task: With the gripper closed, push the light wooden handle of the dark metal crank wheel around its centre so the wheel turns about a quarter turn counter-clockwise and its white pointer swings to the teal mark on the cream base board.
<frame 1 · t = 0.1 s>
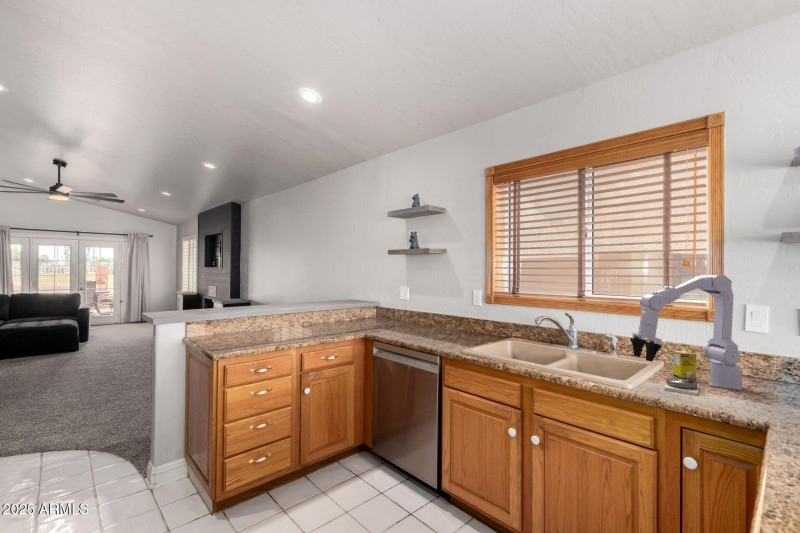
hand: (642, 358, 148), 11 cm above the counter, tool pointing down, fingers open, 7 cm apart
crank wheel: (682, 378, 144), point 4 cm above the counter, hinge at 0.0°
base board: (681, 388, 144), on the counter
supplement box: (684, 378, 159), on the counter
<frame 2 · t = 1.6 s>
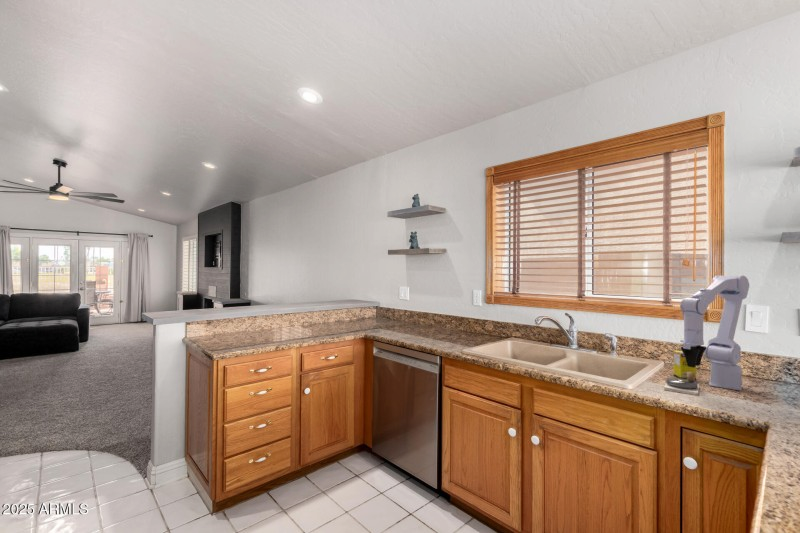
hand: (693, 366, 141), 9 cm above the counter, tool pointing down, fingers open, 4 cm apart
nothing on the counter moved.
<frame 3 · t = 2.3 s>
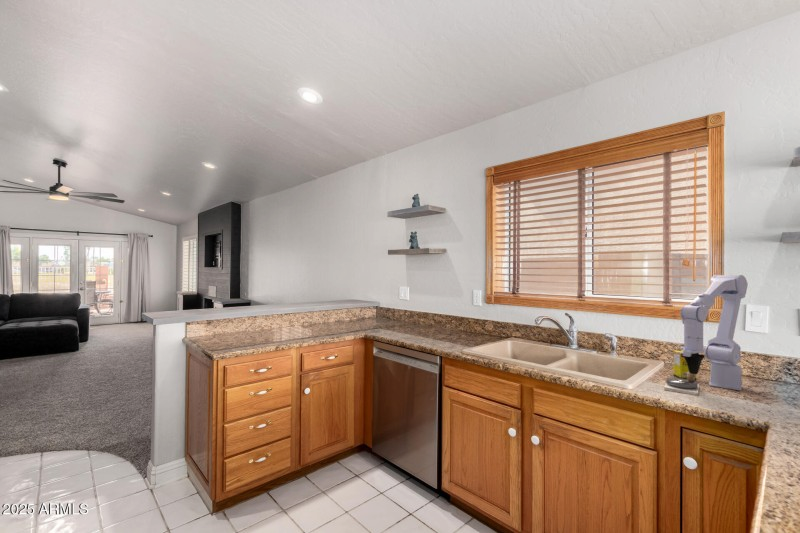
hand: (693, 373, 141), 7 cm above the counter, tool pointing down, fingers closed
nothing on the counter moved.
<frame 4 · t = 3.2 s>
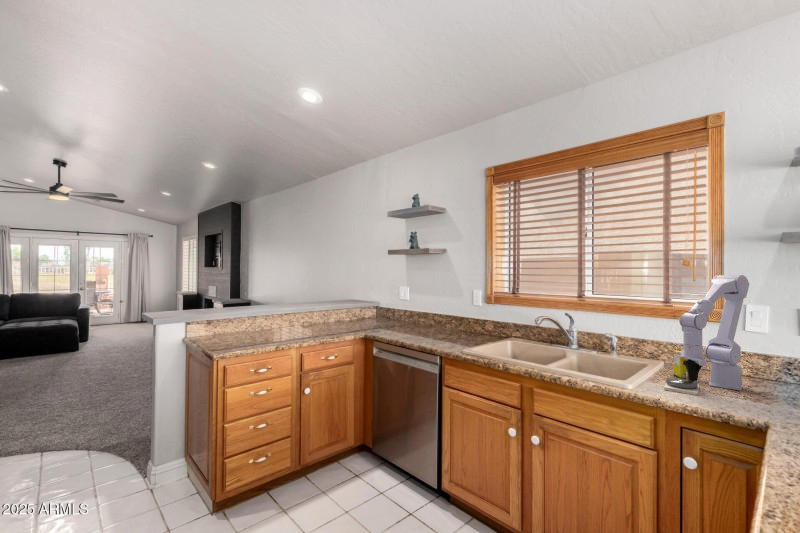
hand: (692, 380, 143), 3 cm above the counter, tool pointing down, fingers closed, pressing on crank wheel
crank wheel: (681, 378, 144), point 4 cm above the counter, hinge at 4.8°, touching gripper
everything else where it was.
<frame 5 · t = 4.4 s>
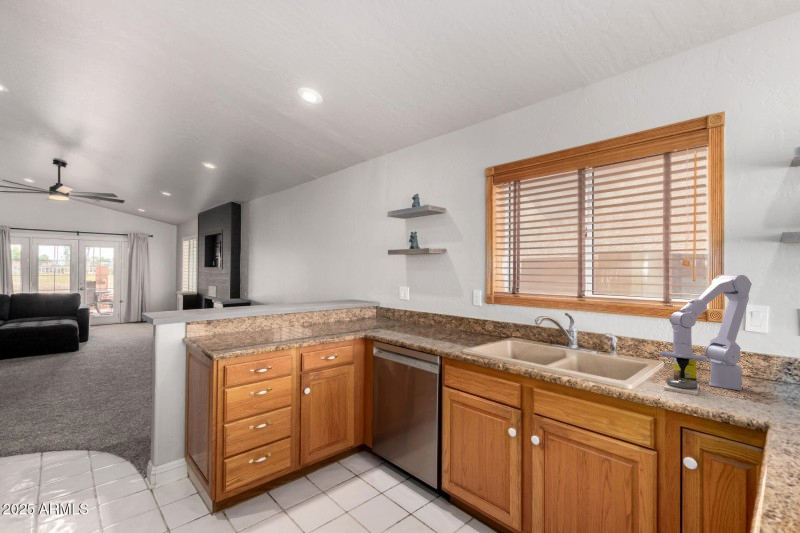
hand: (682, 377, 147), 3 cm above the counter, tool pointing down, fingers closed, pressing on crank wheel
crank wheel: (681, 378, 144), point 4 cm above the counter, hinge at 70.1°, touching gripper
everything else where it was.
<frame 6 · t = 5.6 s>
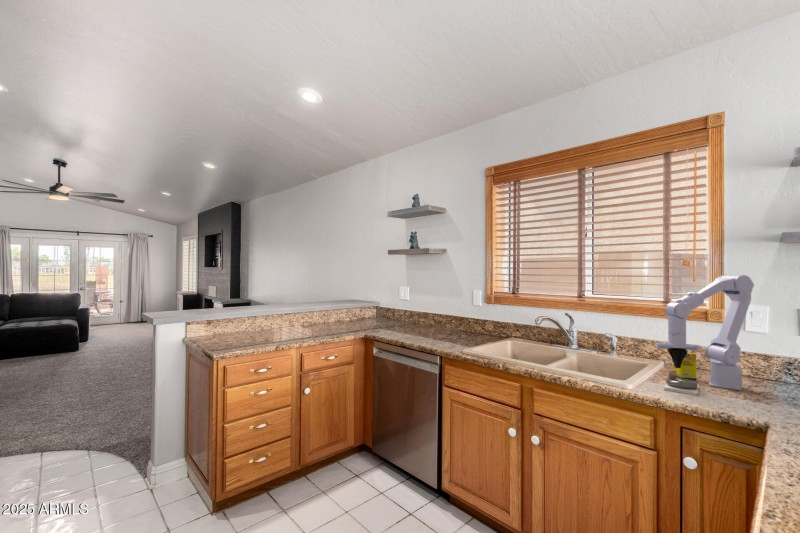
hand: (677, 367, 148), 7 cm above the counter, tool pointing down, fingers closed
crank wheel: (681, 378, 144), point 4 cm above the counter, hinge at 98.6°
everything else where it was.
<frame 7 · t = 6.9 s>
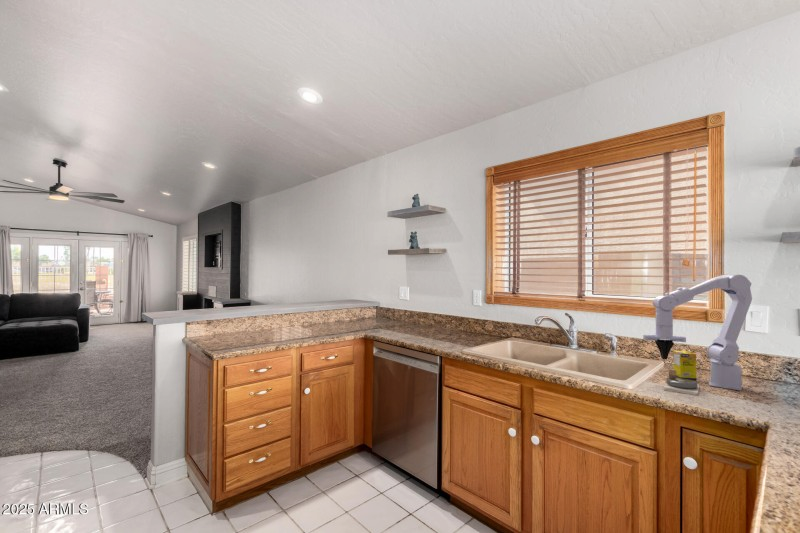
hand: (664, 358, 153), 9 cm above the counter, tool pointing down, fingers closed
nothing on the counter moved.
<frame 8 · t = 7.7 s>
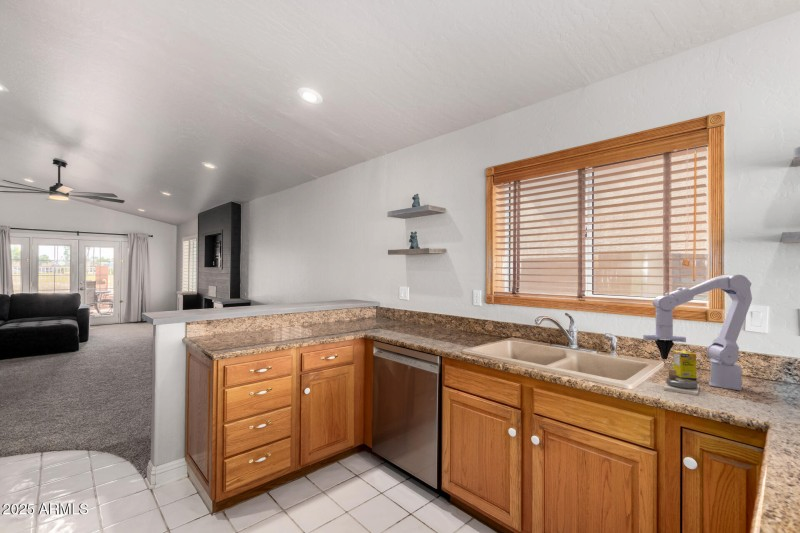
hand: (664, 358, 153), 9 cm above the counter, tool pointing down, fingers closed
nothing on the counter moved.
at the end: crank wheel at +99° (first picture: +0°); the gripper is holding nothing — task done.
